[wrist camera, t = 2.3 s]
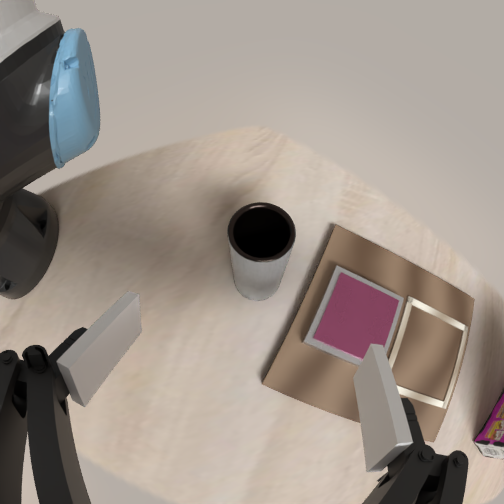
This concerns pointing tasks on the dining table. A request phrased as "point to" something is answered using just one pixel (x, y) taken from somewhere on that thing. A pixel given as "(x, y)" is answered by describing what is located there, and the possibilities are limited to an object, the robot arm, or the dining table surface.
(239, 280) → the gray cylinder
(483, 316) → the dining table surface
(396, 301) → the ink pad
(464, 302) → the walnut board
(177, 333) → the dining table surface
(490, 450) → the candy bar box
